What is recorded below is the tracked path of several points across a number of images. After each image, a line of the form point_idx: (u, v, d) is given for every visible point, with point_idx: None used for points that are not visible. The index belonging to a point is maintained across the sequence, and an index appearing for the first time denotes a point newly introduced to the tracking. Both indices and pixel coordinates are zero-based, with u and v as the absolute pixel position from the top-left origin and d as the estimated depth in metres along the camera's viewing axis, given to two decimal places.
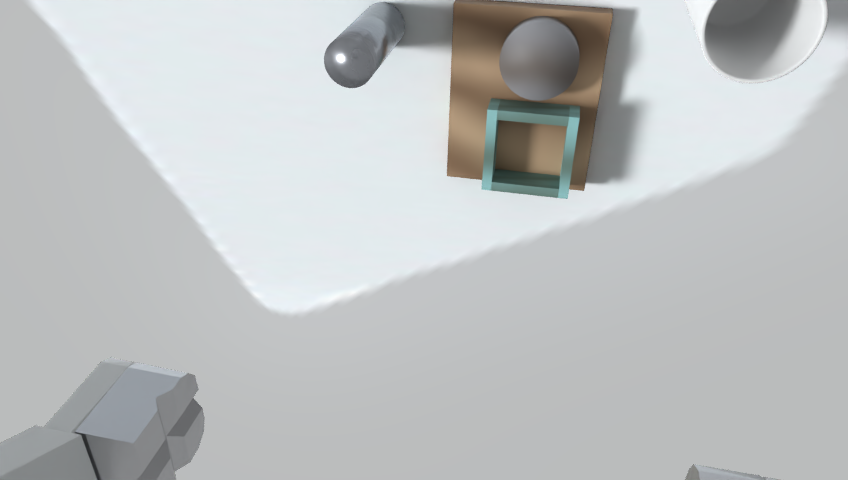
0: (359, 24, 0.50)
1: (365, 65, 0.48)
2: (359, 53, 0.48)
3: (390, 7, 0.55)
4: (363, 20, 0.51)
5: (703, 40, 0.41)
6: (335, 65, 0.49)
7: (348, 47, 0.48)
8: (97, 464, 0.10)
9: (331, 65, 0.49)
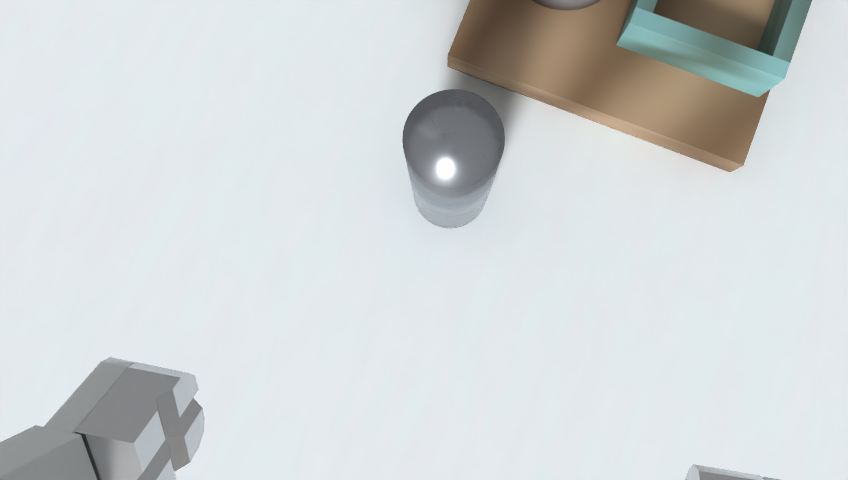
0: None
1: (467, 108, 0.24)
2: (441, 110, 0.24)
3: None
4: None
5: None
6: (449, 166, 0.24)
7: (424, 126, 0.24)
8: (97, 464, 0.10)
9: (446, 174, 0.24)
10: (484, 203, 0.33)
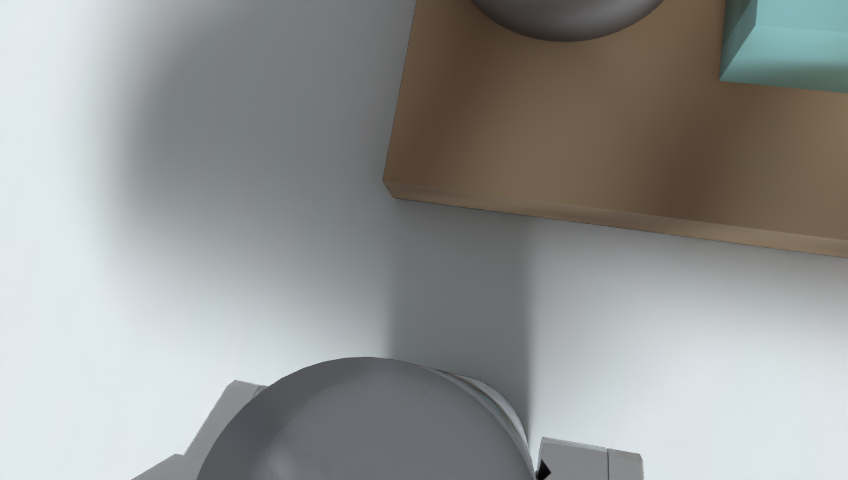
0: None
1: (387, 418, 0.07)
2: (301, 445, 0.07)
3: None
4: None
5: None
6: None
7: None
8: None
9: None
10: None
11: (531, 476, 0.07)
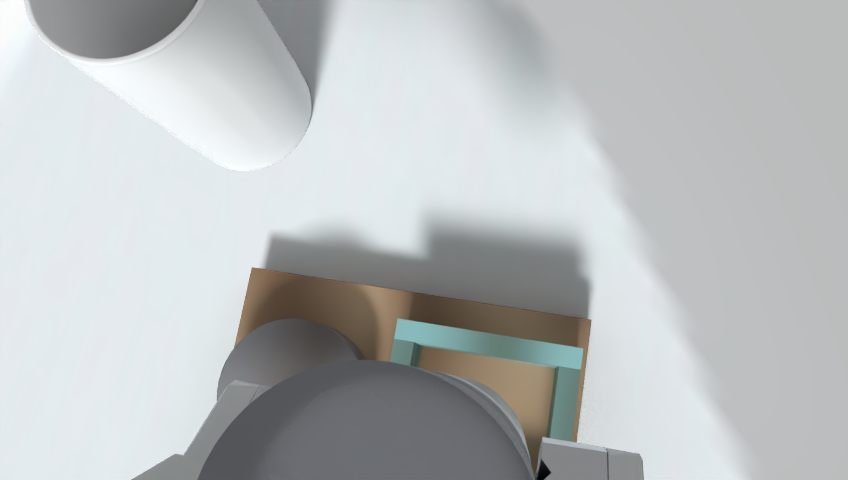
0: None
1: (387, 421, 0.07)
2: (300, 448, 0.07)
3: None
4: None
5: (121, 58, 0.22)
6: None
7: None
8: None
9: None
10: None
11: (530, 479, 0.07)
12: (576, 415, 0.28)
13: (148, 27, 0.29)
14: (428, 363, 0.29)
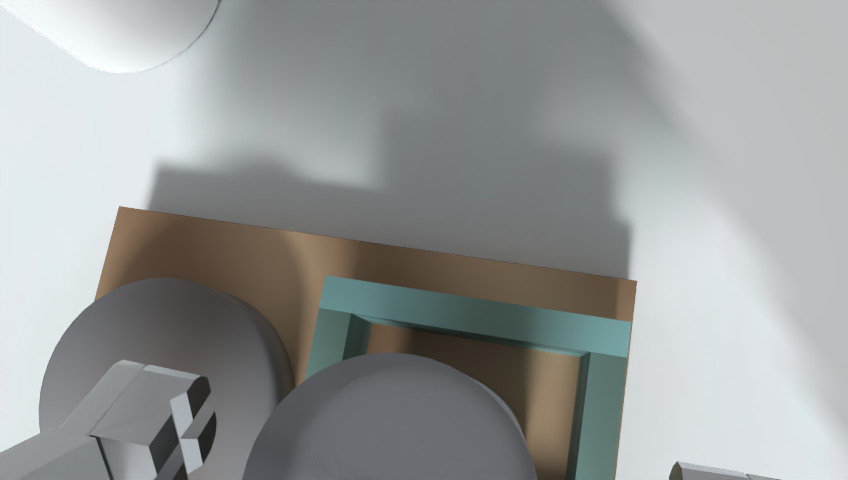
0: None
1: (408, 403, 0.08)
2: (337, 425, 0.08)
3: None
4: None
5: None
6: None
7: None
8: (111, 467, 0.10)
9: None
10: None
11: (527, 450, 0.08)
12: None
13: None
14: (381, 350, 0.19)
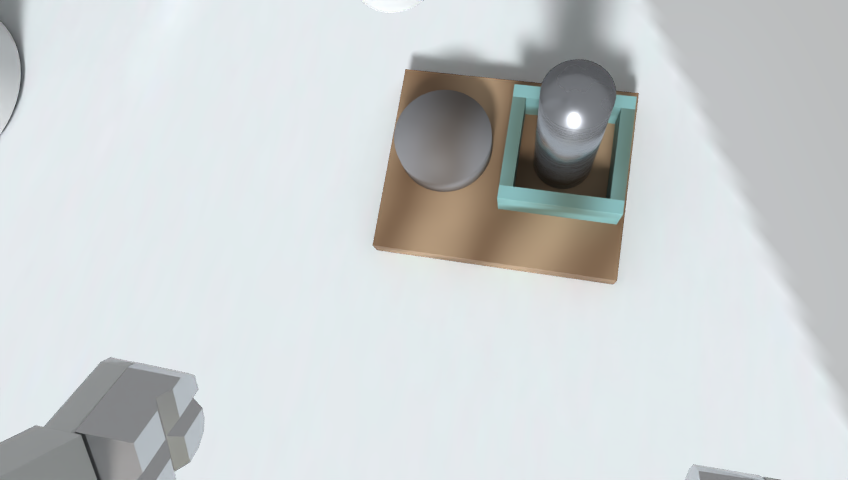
0: (537, 119, 0.37)
1: (582, 70, 0.33)
2: (563, 76, 0.33)
3: None
4: None
5: None
6: (580, 113, 0.33)
7: (554, 91, 0.33)
8: (97, 464, 0.10)
9: (579, 119, 0.33)
10: None
11: (612, 79, 0.33)
12: (629, 152, 0.42)
13: None
14: (529, 124, 0.43)
